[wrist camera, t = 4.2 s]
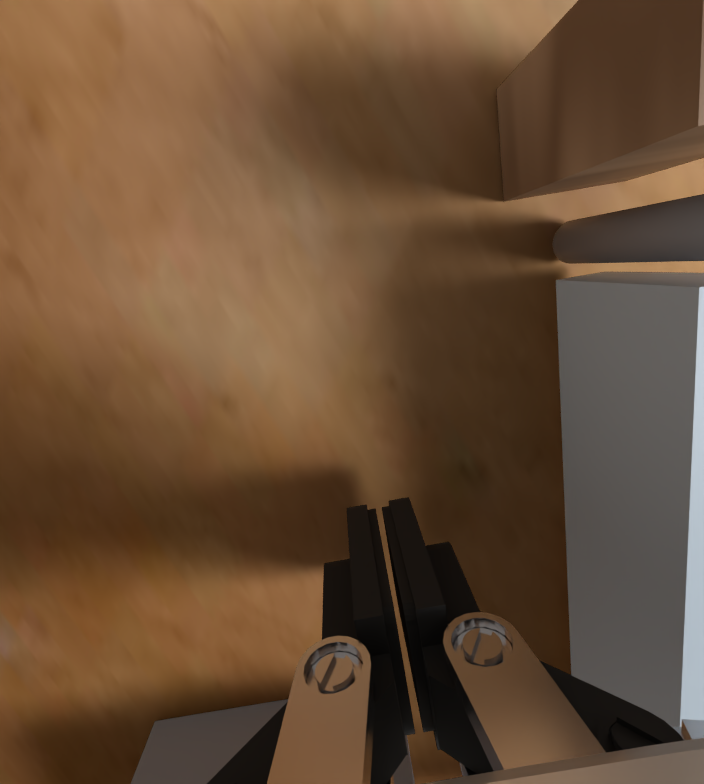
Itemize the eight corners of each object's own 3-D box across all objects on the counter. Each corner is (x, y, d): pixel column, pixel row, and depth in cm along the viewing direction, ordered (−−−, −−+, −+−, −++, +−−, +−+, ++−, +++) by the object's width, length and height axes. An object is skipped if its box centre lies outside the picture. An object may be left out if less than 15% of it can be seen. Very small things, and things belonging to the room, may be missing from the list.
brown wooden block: (626, 181, 11) (958, 82, 5) (503, 201, 11) (697, 125, 5) (626, 67, 10) (1006, -193, 4) (496, 89, 10) (708, -142, 4)
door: (547, 224, 11) (795, 174, 5) (646, 207, 11) (1008, 138, 5) (569, 744, 15) (715, 1034, 10) (639, 733, 15) (827, 1015, 10)
